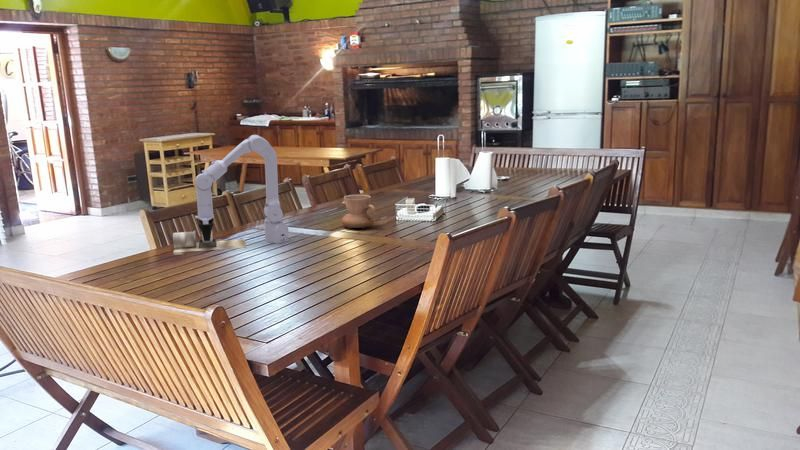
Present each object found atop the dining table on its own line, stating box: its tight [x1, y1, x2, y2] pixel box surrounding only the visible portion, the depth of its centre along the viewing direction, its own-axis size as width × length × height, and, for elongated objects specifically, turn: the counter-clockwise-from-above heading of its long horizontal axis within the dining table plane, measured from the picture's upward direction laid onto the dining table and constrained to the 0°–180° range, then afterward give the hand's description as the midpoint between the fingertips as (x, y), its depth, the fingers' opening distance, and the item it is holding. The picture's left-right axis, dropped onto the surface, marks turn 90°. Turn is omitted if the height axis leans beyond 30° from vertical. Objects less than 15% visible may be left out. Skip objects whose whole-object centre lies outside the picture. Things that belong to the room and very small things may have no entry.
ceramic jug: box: [341, 194, 376, 229], centre depth 285 cm, size 18×14×14 cm
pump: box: [200, 230, 214, 243], centre depth 250 cm, size 4×4×7 cm
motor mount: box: [172, 230, 247, 256], centre depth 251 cm, size 27×14×7 cm, turn 106°
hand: (207, 238), depth 250 cm, fingers open, 7 cm apart
